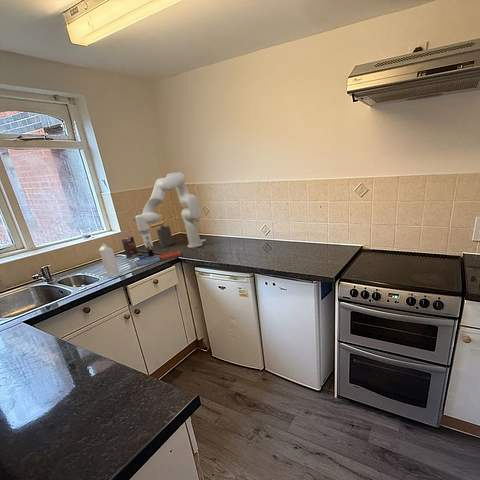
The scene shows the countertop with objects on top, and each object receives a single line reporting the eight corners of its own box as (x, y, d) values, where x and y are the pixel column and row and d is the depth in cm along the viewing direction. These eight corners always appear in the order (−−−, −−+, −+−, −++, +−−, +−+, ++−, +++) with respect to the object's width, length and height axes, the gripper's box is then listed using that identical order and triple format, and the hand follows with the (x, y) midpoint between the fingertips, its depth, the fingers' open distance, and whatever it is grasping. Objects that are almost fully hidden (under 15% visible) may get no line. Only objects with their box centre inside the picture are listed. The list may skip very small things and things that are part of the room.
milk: (116, 273, 204) (106, 242, 196) (120, 274, 200) (110, 243, 192) (107, 276, 199) (97, 244, 192) (111, 278, 196) (101, 245, 188)
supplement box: (132, 258, 235) (126, 239, 229) (126, 259, 236) (120, 239, 230) (138, 255, 243) (133, 236, 237) (133, 255, 244) (128, 236, 238)
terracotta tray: (177, 252, 237) (177, 250, 237) (181, 255, 228) (181, 252, 228) (158, 257, 230) (157, 254, 230) (161, 260, 221) (160, 258, 221)
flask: (159, 247, 258) (154, 227, 252) (171, 243, 270) (166, 223, 264) (162, 247, 257) (157, 227, 250) (174, 243, 269) (169, 223, 262)
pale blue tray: (157, 257, 230) (156, 255, 229) (160, 260, 221) (159, 258, 220) (136, 262, 223) (135, 260, 222) (139, 266, 214) (138, 263, 213)
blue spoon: (154, 254, 225) (154, 252, 225) (156, 255, 222) (155, 253, 221) (138, 258, 220) (137, 256, 219) (139, 259, 216) (138, 257, 215)
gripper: (152, 232, 211) (158, 257, 217) (148, 229, 223) (154, 252, 230) (141, 234, 207) (147, 259, 214) (137, 231, 220) (144, 255, 227)
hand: (151, 255), depth 222 cm, fingers closed on blue spoon, 1 cm apart
